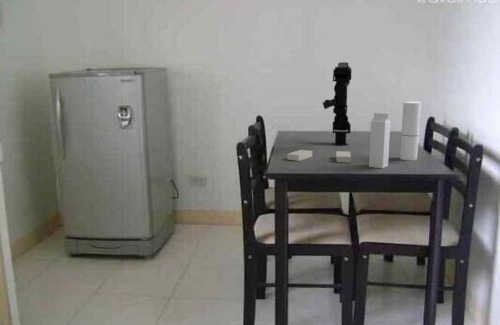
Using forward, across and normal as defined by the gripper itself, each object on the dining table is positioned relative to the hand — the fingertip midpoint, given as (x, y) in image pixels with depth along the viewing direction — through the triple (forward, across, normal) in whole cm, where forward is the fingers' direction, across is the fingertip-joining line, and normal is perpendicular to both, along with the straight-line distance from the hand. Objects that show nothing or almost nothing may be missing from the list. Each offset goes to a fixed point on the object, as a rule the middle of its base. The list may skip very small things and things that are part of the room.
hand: (340, 126), depth 226 cm
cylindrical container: (+12, +14, +31) cm, 36 cm away
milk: (+12, +32, +17) cm, 38 cm away
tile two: (+11, +16, -14) cm, 24 cm away
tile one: (+11, +16, +2) cm, 19 cm away
